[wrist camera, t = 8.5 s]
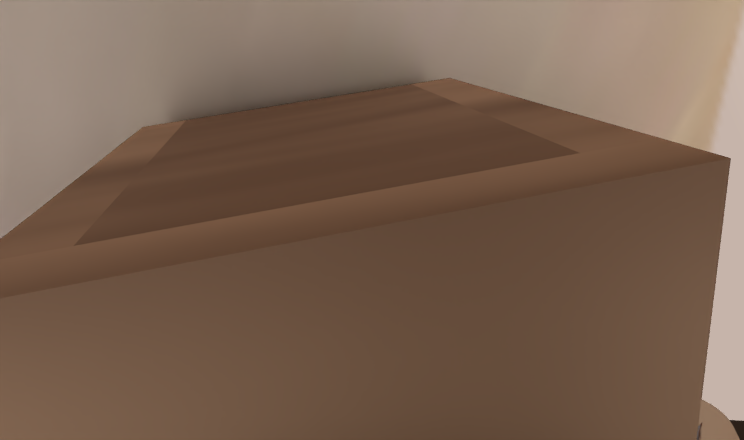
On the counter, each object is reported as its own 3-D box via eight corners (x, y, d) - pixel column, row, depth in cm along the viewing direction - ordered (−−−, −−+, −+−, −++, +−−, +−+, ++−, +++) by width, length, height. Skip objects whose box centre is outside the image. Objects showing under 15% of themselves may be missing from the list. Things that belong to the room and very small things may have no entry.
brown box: (143, 126, 10) (-99, 317, 3) (449, 77, 11) (731, 158, 4) (255, 511, 14) (241, 956, 7) (477, 455, 14) (651, 812, 8)
